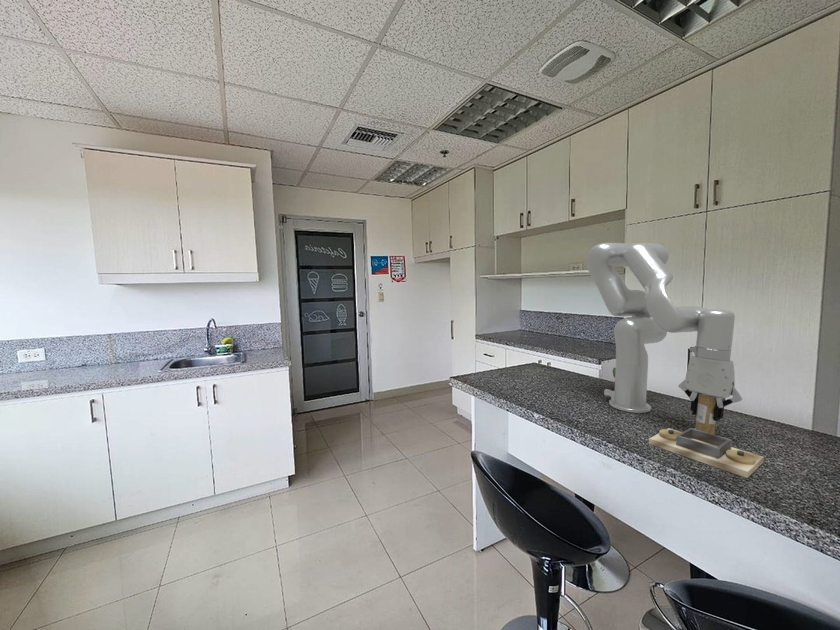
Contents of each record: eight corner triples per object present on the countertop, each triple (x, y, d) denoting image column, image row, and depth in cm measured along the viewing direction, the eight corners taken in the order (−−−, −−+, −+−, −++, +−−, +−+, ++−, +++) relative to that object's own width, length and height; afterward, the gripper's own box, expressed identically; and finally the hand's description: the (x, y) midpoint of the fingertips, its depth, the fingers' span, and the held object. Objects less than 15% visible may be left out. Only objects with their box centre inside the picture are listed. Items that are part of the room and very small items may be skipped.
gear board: (648, 443, 94) (649, 429, 94) (668, 433, 100) (669, 419, 100) (747, 478, 77) (748, 461, 77) (763, 462, 84) (764, 446, 83)
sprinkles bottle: (717, 437, 96) (722, 390, 95) (697, 434, 98) (702, 388, 96) (710, 430, 100) (715, 385, 99) (691, 427, 102) (696, 383, 101)
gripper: (671, 349, 101) (666, 410, 104) (748, 362, 87) (740, 431, 90) (682, 347, 106) (677, 404, 108) (757, 358, 92) (749, 424, 94)
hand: (706, 416), depth 99 cm, fingers closed on sprinkles bottle, 4 cm apart
